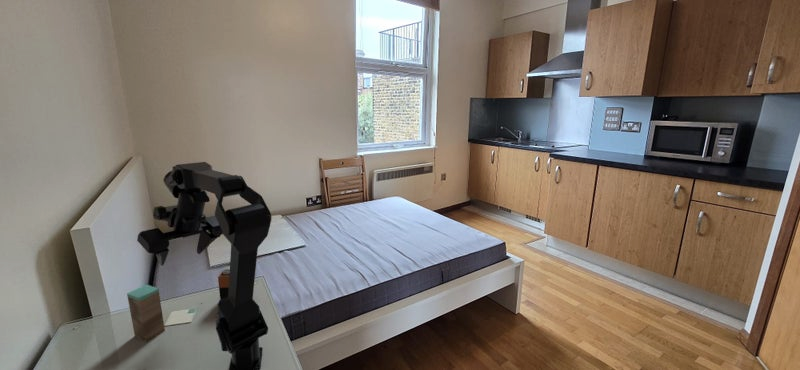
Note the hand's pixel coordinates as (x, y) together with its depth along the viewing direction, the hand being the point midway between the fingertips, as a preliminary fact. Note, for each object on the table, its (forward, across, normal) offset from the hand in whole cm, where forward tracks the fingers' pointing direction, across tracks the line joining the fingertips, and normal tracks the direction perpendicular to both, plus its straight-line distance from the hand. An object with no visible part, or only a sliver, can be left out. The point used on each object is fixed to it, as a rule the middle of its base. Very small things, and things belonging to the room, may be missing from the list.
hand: (180, 258), depth 86 cm
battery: (+14, -12, +10) cm, 21 cm away
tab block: (+16, +8, +6) cm, 19 cm away
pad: (+16, 0, +6) cm, 17 cm away
